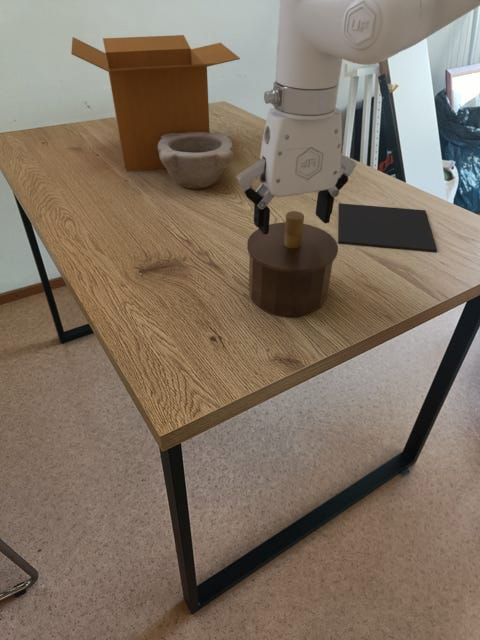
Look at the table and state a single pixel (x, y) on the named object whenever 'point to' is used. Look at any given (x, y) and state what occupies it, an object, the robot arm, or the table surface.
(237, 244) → the table surface
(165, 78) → the box
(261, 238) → the tin lid
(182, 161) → the mortar
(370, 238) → the mat
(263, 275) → the tin
